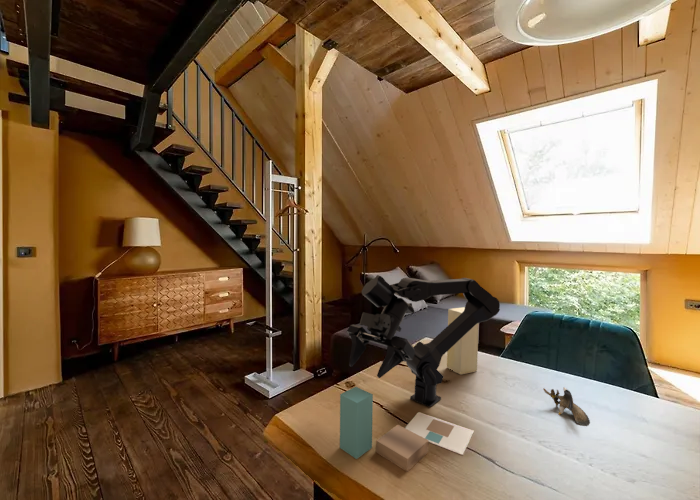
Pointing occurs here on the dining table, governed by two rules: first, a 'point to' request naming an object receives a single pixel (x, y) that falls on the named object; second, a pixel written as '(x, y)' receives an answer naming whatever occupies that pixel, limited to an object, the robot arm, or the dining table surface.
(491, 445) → the dining table surface
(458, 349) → the cream tall rectangular block
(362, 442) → the teal brick
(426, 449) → the walnut base brick
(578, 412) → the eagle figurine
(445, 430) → the page
